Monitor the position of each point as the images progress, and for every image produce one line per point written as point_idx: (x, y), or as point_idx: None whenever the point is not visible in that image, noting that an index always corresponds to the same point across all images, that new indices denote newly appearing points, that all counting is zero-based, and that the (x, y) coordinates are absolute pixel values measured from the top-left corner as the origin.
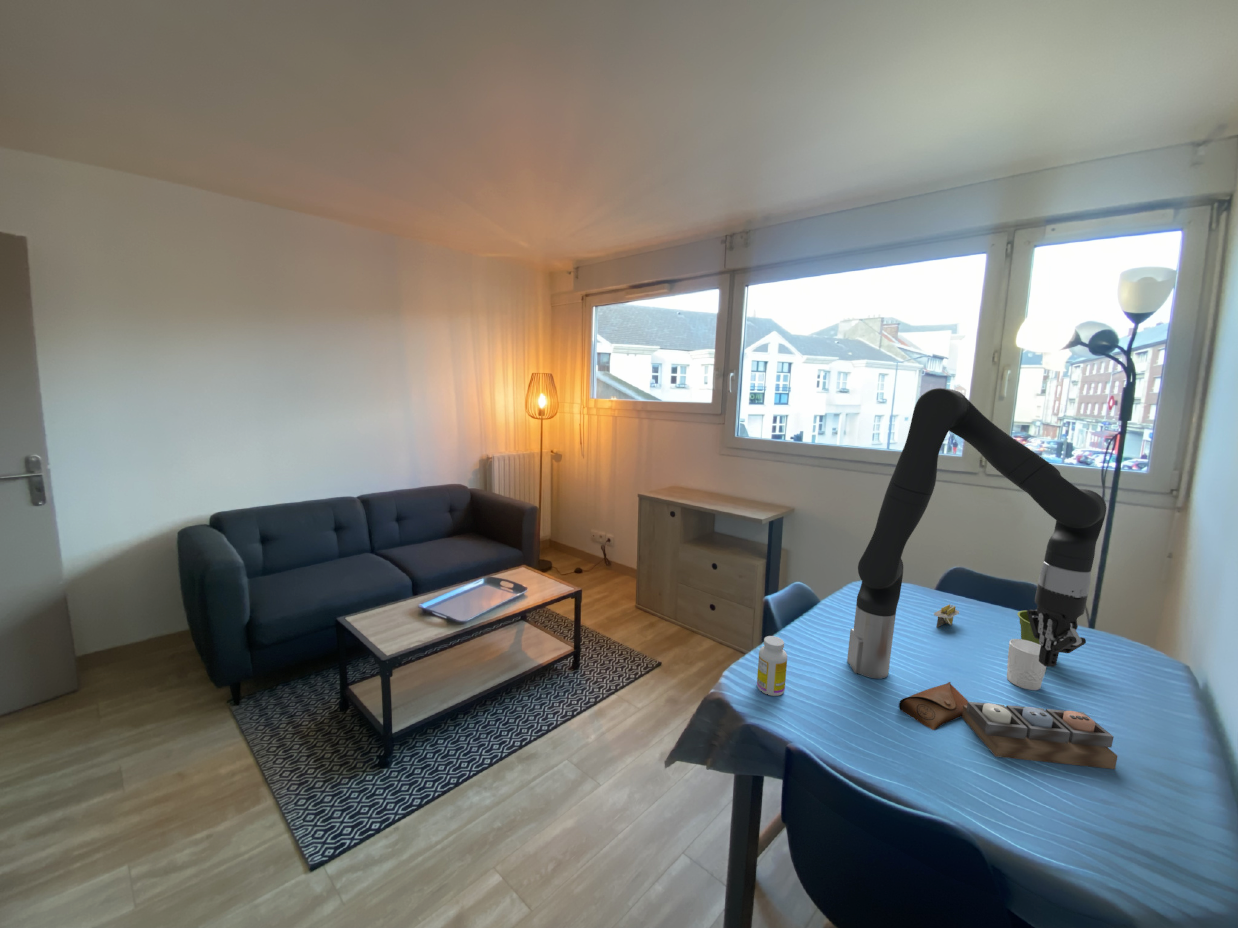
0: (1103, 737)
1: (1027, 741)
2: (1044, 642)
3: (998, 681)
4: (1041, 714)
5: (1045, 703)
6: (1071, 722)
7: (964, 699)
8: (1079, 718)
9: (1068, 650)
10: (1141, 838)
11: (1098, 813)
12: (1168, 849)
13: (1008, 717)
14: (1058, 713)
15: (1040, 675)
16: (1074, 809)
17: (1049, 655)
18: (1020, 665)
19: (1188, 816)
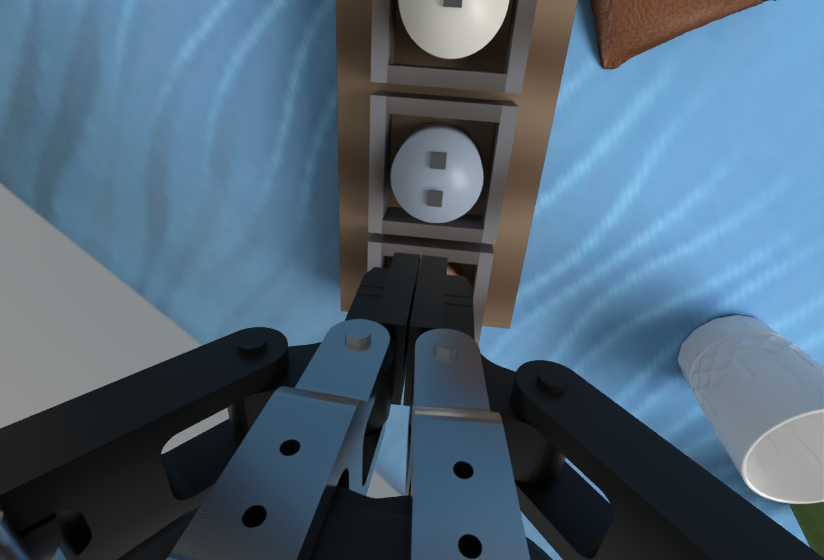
0: None
1: (365, 74)
2: (416, 364)
3: (752, 278)
4: (433, 191)
5: (613, 333)
6: None
7: (654, 11)
8: None
9: (218, 432)
10: (117, 152)
11: (169, 109)
12: (105, 187)
13: (405, 19)
14: (475, 279)
15: (700, 396)
16: (161, 46)
17: (360, 309)
18: (756, 367)
19: (227, 314)
